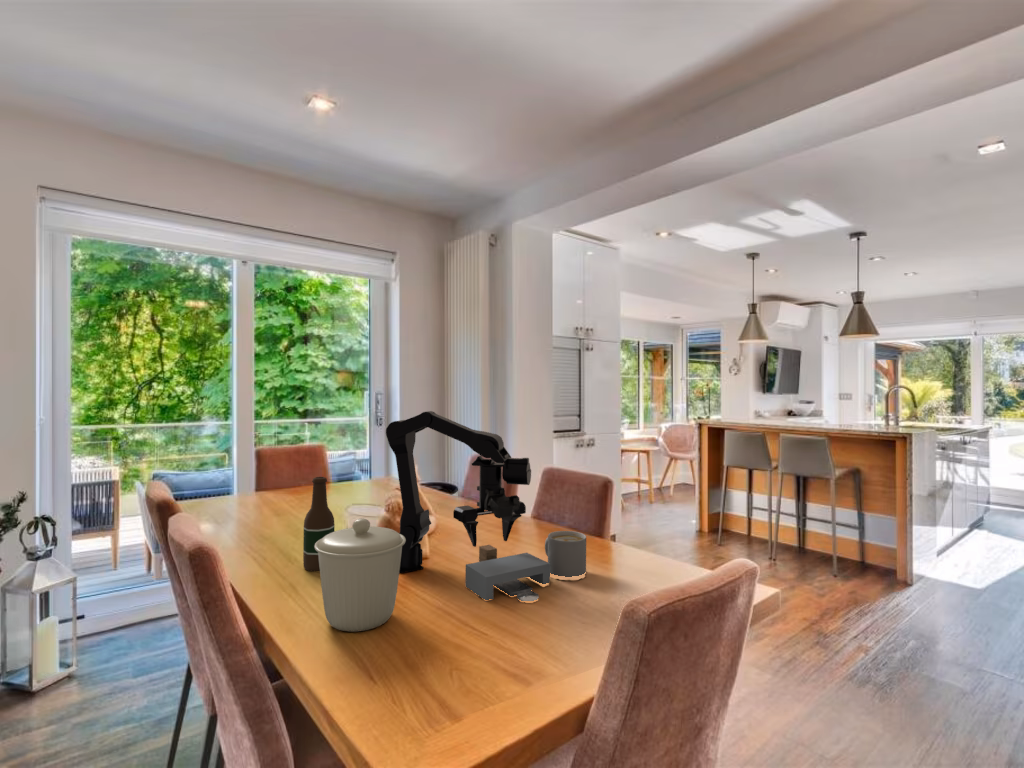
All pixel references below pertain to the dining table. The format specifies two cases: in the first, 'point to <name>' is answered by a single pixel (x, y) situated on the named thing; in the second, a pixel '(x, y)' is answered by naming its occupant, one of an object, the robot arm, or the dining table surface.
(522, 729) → the dining table surface
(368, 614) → the canister
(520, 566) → the low shelf
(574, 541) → the coffee mug
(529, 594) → the steel disc
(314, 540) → the beer bottle
